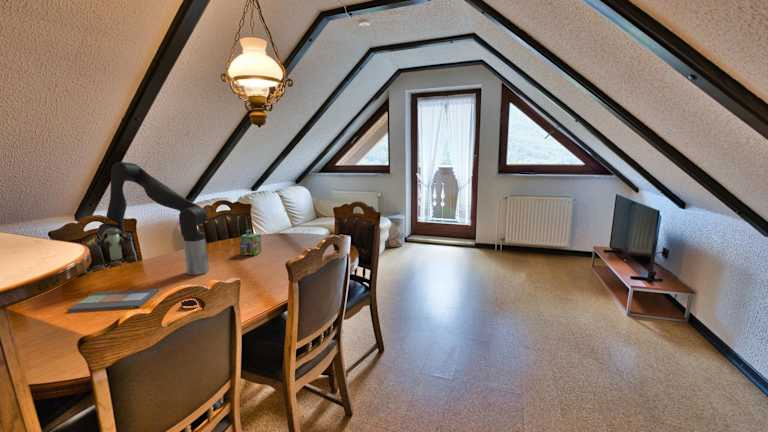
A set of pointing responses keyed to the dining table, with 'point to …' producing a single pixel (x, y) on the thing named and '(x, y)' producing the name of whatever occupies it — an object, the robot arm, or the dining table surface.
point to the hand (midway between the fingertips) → (114, 244)
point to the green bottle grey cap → (114, 244)
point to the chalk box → (250, 243)
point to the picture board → (114, 300)
